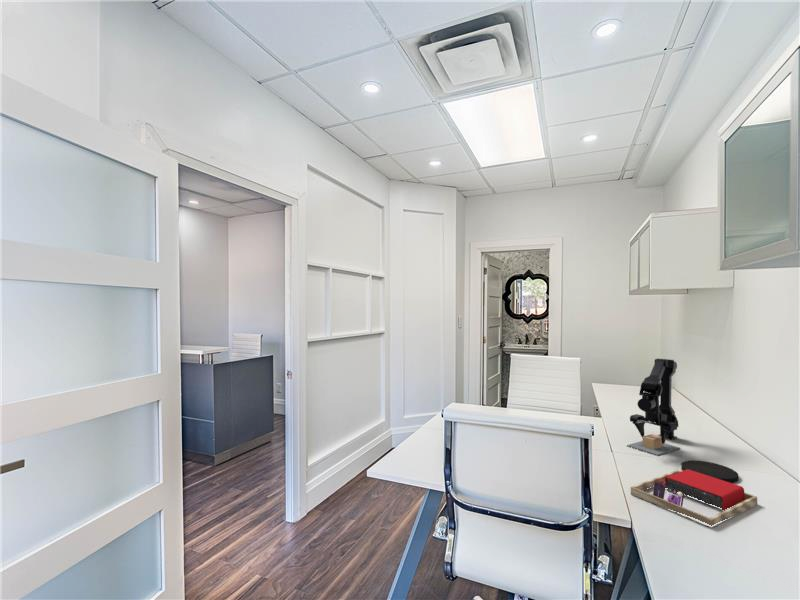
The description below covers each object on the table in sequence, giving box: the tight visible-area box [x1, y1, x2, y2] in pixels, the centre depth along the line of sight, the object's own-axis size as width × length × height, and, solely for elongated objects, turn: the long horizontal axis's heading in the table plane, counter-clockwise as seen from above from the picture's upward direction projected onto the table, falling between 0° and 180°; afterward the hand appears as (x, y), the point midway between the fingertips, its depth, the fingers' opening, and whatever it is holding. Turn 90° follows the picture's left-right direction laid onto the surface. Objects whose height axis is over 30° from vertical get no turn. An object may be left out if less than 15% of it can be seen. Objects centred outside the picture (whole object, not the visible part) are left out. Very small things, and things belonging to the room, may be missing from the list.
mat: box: [626, 440, 681, 457], centre depth 183 cm, size 18×14×1 cm
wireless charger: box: [680, 459, 739, 484], centre depth 154 cm, size 18×18×2 cm
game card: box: [652, 482, 685, 507], centre depth 130 cm, size 7×5×9 cm
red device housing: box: [664, 469, 745, 510], centre depth 137 cm, size 18×14×5 cm
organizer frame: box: [630, 469, 758, 526], centre depth 134 cm, size 30×25×2 cm
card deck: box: [642, 433, 664, 449], centre depth 183 cm, size 5×8×4 cm, turn 117°
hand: (653, 440), depth 183 cm, fingers open, 9 cm apart
